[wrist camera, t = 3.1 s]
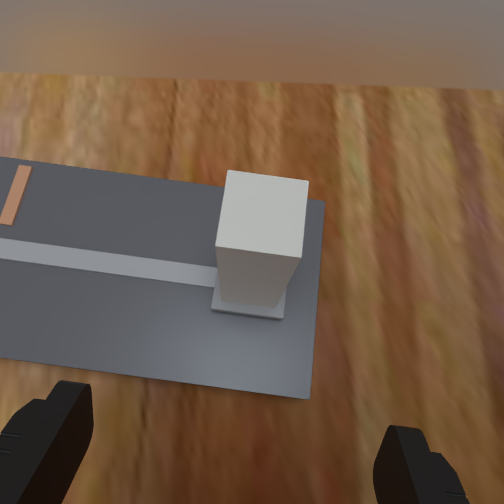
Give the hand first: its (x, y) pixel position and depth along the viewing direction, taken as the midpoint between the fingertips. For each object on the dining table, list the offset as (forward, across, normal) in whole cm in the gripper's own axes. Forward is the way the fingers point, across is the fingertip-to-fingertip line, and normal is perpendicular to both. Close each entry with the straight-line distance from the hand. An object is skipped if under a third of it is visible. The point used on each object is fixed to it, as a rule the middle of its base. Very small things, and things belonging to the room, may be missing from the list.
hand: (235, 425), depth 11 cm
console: (+15, +7, +5) cm, 18 cm away
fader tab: (+13, 0, +3) cm, 13 cm away
